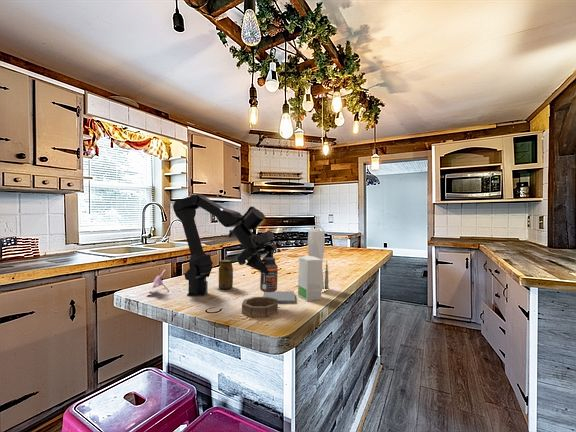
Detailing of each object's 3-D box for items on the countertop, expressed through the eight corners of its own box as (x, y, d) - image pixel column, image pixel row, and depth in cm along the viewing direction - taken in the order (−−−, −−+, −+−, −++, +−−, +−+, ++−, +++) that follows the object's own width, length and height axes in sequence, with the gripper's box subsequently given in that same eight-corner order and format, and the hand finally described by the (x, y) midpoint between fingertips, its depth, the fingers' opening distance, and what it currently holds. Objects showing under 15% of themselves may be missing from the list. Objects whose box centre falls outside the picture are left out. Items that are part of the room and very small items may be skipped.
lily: (159, 290, 122) (147, 272, 120) (182, 280, 121) (171, 262, 118) (146, 307, 111) (133, 288, 108) (172, 296, 110) (159, 277, 107)
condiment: (229, 285, 127) (229, 258, 127) (238, 289, 121) (238, 261, 121) (214, 287, 123) (214, 260, 123) (223, 292, 116) (223, 263, 116)
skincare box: (297, 295, 112) (297, 256, 112) (312, 293, 114) (312, 255, 114) (307, 301, 104) (307, 259, 104) (322, 299, 107) (323, 258, 107)
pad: (262, 303, 102) (262, 300, 102) (264, 293, 114) (264, 291, 114) (295, 303, 102) (295, 300, 102) (293, 293, 114) (293, 291, 114)
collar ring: (240, 317, 88) (240, 307, 88) (245, 305, 100) (245, 296, 100) (277, 317, 88) (277, 307, 88) (277, 305, 100) (278, 296, 100)
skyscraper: (321, 294, 115) (322, 225, 114) (303, 291, 119) (304, 225, 118) (329, 289, 122) (329, 225, 122) (312, 287, 126) (312, 224, 126)
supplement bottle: (265, 293, 94) (266, 260, 94) (257, 289, 99) (257, 257, 99) (280, 291, 98) (281, 258, 98) (271, 287, 103) (271, 256, 102)
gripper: (244, 224, 92) (274, 261, 87) (273, 222, 108) (298, 253, 104) (225, 246, 95) (252, 283, 90) (255, 241, 112) (279, 272, 107)
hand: (272, 271), depth 98 cm, fingers closed on supplement bottle, 6 cm apart
